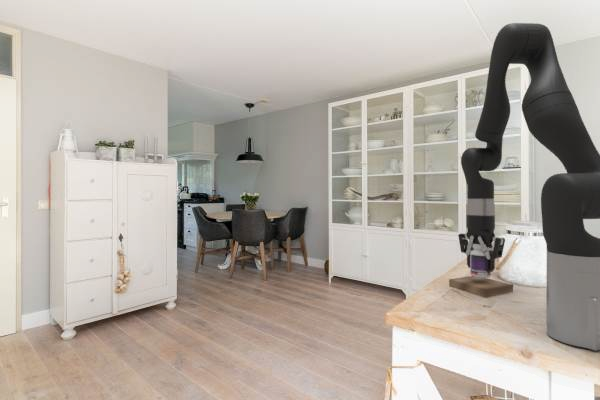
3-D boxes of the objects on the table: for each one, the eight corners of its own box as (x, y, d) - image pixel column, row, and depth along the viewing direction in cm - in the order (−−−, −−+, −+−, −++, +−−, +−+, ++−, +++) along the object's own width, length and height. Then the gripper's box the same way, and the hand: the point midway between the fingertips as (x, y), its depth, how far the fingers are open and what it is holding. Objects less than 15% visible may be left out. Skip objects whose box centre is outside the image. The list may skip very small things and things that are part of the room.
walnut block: (513, 295, 93) (513, 284, 93) (485, 300, 88) (485, 289, 88) (475, 284, 104) (475, 275, 104) (449, 288, 99) (449, 279, 99)
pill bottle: (493, 278, 92) (493, 245, 92) (473, 277, 93) (473, 244, 93) (486, 274, 98) (486, 242, 98) (467, 273, 99) (467, 242, 99)
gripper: (512, 214, 90) (512, 273, 90) (468, 212, 104) (468, 264, 104) (494, 215, 87) (494, 276, 88) (451, 213, 101) (451, 266, 101)
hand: (480, 269), depth 96 cm, fingers closed on pill bottle, 5 cm apart
